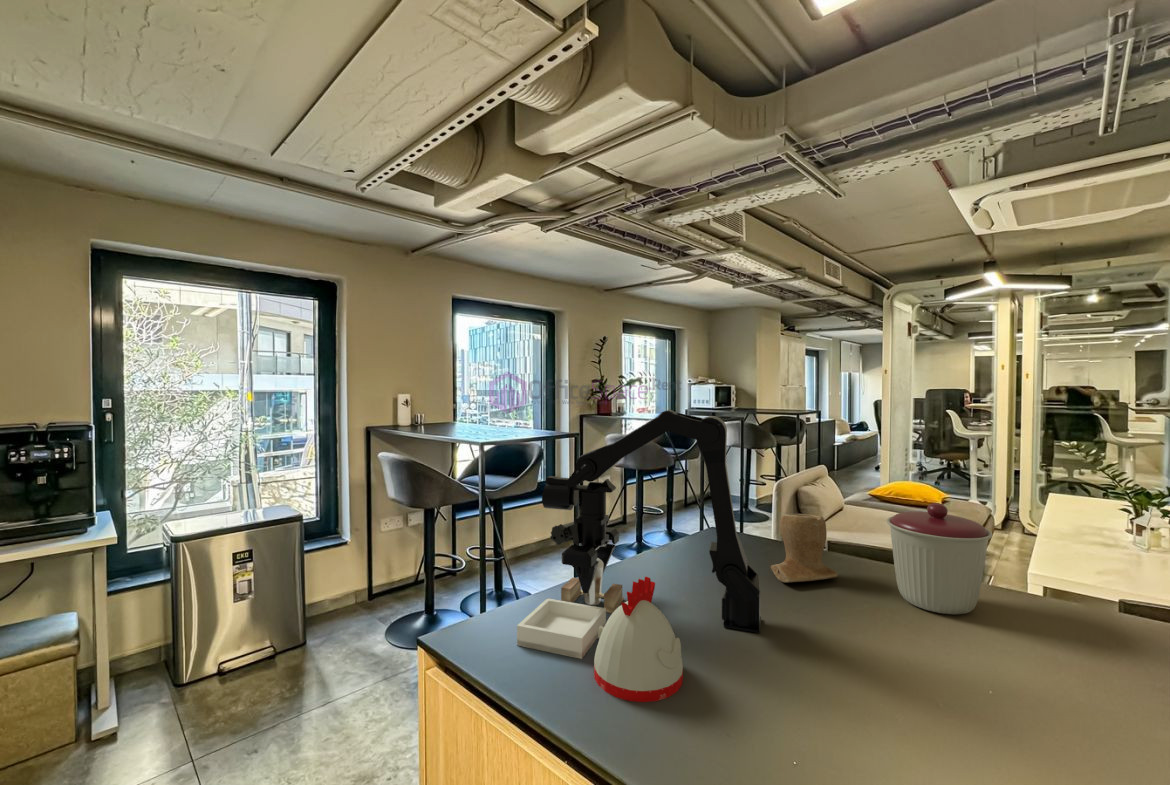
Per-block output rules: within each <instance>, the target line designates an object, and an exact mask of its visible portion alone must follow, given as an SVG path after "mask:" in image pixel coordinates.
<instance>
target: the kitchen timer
mask: <svg viewBox="0 0 1170 785" xmlns="http://www.w3.org/2000/svg"><path fill="white" fill-rule="evenodd" d="M655 588H656V582H655V581H651V577H648V576H644V579H641V578H638V582H637V581H632V589H631V592H630V591H626V595H627V596H626V597H627V601H625V602H624V601H622V602H621V604H620V605H619V607H618V608H617V609H616V610H615V611H614V612H613V613H611V614H610V616H609V617H608V619H607V620H606V624H605V626H604V627H602V626H600V627H599V631H598V639H599V640H598V643H597V646H596V648H595V653H594V658H593V659H594V660H593V665H594V666H593V671H594V672H593V675H594V677H593V678H594V681H595V682H596V683H597V686H598V687H599V688H601V689H602V690H603V691H604V692H605V693H606V694H609V695H611V696H613V697H615V698H617V699H621V700H624V701H629V702H639V703H647V702H648V703H649V702H658V701H660V700H661V701H662V700H663V699H664V700H665V699H667V698H669V697H671V696H672V695H674V694H676V693H677V692H678V691H679V690H680V688H681V687H682V686H683V681H684V674H683V673H684V672H683V671H684V666H683V665H684V664H683V659H682V645H681V638H679V637H676V635H675V633H674V630H673V628H672V625H671V624H670V622H669V621H668V619H667V617H666V616H665V614H664V613H663V612H662V611H661V610H660V609H659V607H657V606H656V605H654V604H653V603H652V601H653V596H654V593H655V592H654V591H655Z"/></svg>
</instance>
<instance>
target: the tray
mask: <svg viewBox="0 0 1170 785" xmlns="http://www.w3.org/2000/svg"><path fill="white" fill-rule="evenodd" d="M606 618H607V612H606V608H604V607H599V606H596V605H588V604H582V603H577V602H573V603H572V602H566V601H561V599H559V600H558V599H554V598H546V599H545V600H544V601H542V602H541V604H539V605H538V606H537V607H536V608H535V609H534V610H533V611H532V612H530V613H529V614H528V615H527V616H526V617H525V618H524V619H523V620H522V621H520V622H519V623H518V624H517V625H516V646H519V647H524V648H528V649H533V650H536V651H543V652H547V653H551V654H557V655H560V656H561V655H562V656H565V657H570V658H575V659H579V660H583V659H584V657H585V656H586V654H587V653H588V651H590V649H591V647H592V646H593V645H594V644H595V642H596V640H598V639H599V637H598V631H599V627H600V626H602V627H604V626H605V624H606V623H607V620H606Z"/></svg>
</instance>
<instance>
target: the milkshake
mask: <svg viewBox="0 0 1170 785" xmlns="http://www.w3.org/2000/svg"><path fill="white" fill-rule="evenodd" d="M596 561H598V562H599V563H598V566H597V569H596V572H595V575H594V578H593V581H592V584H591V587H590V590H589V592H588V593H584V595H583V596H584V603H585V605H589V606H597V605H599V604H601V602H602V601H601V600H602V598H601V593H602V586H603V575H604V573H603V566H604V563H603V561H602V560H600V559H599V558H597V560H596Z"/></svg>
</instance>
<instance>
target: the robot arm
mask: <svg viewBox="0 0 1170 785" xmlns="http://www.w3.org/2000/svg"><path fill="white" fill-rule="evenodd" d="M667 432H671V433H673V434H677V435H680V436H683V437H686V438H690V439H693V440H695V442H696V443H697V447H698V450H699V452H700V455H701V457H702V460H703V463H704V464H705V467H706V473H707V479H708V488H709V494H710V499H711V506H712V510H713V511H712V514H713V519H714V525H715V526H714V527H715V530H716V531H715V532H716V542H715V541H711V543H710V545H709V546H710V547H709V551H708V552H709V555H710V556H709V557H710V559H711V562H712V570H711V573H713V574H714V573H715V576H716V578H717V580H718V582H719V583H721V585H723V586H725V590H724V593H723V594H722V597H721V619H722V620H723V624H722V625H723V627H724V628H727V629H733V630H738V631H745V632H751V633H757V634H759V633H760V631H761V624H762V623H761V622H762V621H761V620H762V616H761V590H760V582H759V581H760V580H759V574H758V573H757V572H756V571H755V569H753V568H752V566H750V564H748V559H747V556H746V553H745V550H744V546H743V544H742V541H741V539H740V537H739V534H738V532H737V527H736V521H735V520H736V519H735V514H734V507H733V506H734V505H733V501H732V500H733V499H732V494H731V488H730V482H729V481H730V480H729V475H728V468H727V447H728V446H727V439H728V428H727V424H726V423H725V421H724V420H723V419H722V418H720V417H718V416H715V415H709V416H705V417H704V418H703V417H700V416H695V415H690V414H685V413H680V412H676V411H674V410H672V409H670V410H669V409H667V410H664V411H662V412H660V413H659V414H658V415H657V416H656V417H654V418H652V419H650V420H649V421H647V422H646V423H644V424H642V425H641V426H639V427H638V428H635V429H634V430H632V431H630V432H629V433H627V434H626V435H624V436H622V437H621V438H619V439H617V440H615V441H614V442H612V443H610V444H606V445H604V446H601V447H599V448H596V449H593V450H590V451H588V452H586V453H584V454H582V455H580V456H579V457H578V458H577V460H576V462H575V469H574V471H573V472H572V474H571V475H570V476H569V477H559V476H555V475H550V476H547V477H546V478H545V485H544V488H543V491H542V494H541V502H542V507H543V508H544V509H551V510H562V511H563V510H565V511H572V510H573V508H574V507H576V506H577V505H578V515H577V517H575V518H574V519H573V521H572V522H567V523H565V524H562V523H561V524H558V525H554V526H553V527H551V531H550V540H551V541H553V542H554V543H555V545H556V546H559V545H562V544H564V543H567V542H571V541H572V544H571V545H570V546H569V547H568V548H566V549H565V550H564V551H563V552H561V564H562V565H565V566H570V567H572V568H573V569H574V570H575V572H576V574H577V578H579V581H580V585H581V590H582V591H583V593H588V592H589V590H590V587H591V584H592V581H593V578H594V575H595V572H596V569H597V566H598V563H599V562H598V561H596V560H597V558H599V559H600V560H602V561H603V563H604V566H603V574H604V573H605V570H606V569H607V566H608V563H609V561H610V559H611V556H612V554H613V552H614V550H615V548H616V545H617V543H619V541H620V532H619V531H618V529H617V528H616V527H607V522H608V521H610V514H607V494H611V493H613V492H614V491H615V490H616V489H617V486H616V485H614V484H613V483H612V482H611V481H610V479H609V478H606V479H604V481H603V482H602V481H601V482H600V481H599V482H597V481H596V480H597V479H600V478H601V477H603V476H604V475H605V474H606V473H608V472H609V471H610V470H611V469H612V468H614V467H615V466H616V465H617V464H618V463H619V462H620V461H622V459H623V458H625V457H627V456H628V455H630V454H632V453H633V452H635V451H637V450H638V449H640V448H641V447H644V446H645V445H646V444H648V443H650V442H652V441H653V440H655V439H657V438H659V437H661V436H662V435H664V434H666V433H667ZM583 482H587V483H588V484H587V485H583V484H581V483H583ZM610 541H611V542H612V543H610ZM579 544H580V545H579Z"/></svg>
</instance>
